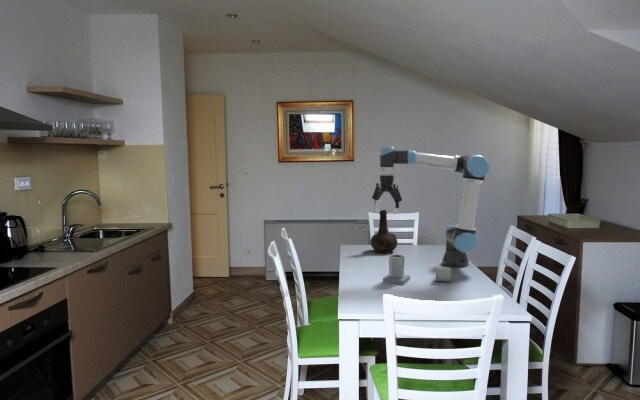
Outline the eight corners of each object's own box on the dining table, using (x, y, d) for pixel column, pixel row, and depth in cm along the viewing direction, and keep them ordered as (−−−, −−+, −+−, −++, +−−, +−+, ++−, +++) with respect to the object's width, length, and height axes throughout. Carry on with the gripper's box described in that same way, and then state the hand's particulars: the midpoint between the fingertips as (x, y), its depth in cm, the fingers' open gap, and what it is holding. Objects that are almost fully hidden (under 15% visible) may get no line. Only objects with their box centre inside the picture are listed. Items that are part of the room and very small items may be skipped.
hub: (405, 276, 237) (405, 255, 236) (401, 279, 231) (401, 258, 230) (392, 274, 240) (392, 254, 239) (387, 277, 234) (387, 256, 233)
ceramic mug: (451, 283, 230) (452, 268, 229) (435, 282, 232) (435, 267, 231) (451, 278, 240) (452, 264, 239) (435, 277, 242) (436, 263, 241)
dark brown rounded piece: (401, 253, 299) (401, 211, 296) (375, 255, 295) (376, 212, 292) (391, 248, 316) (391, 208, 314) (366, 249, 312) (366, 209, 310)
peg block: (410, 279, 238) (410, 264, 237) (403, 284, 228) (403, 269, 227) (389, 276, 243) (390, 262, 242) (382, 282, 233) (382, 266, 232)
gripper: (366, 174, 259) (365, 211, 261) (399, 175, 239) (399, 215, 242) (375, 173, 263) (375, 210, 266) (408, 175, 244) (408, 214, 246)
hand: (386, 212), depth 254 cm, fingers open, 13 cm apart
